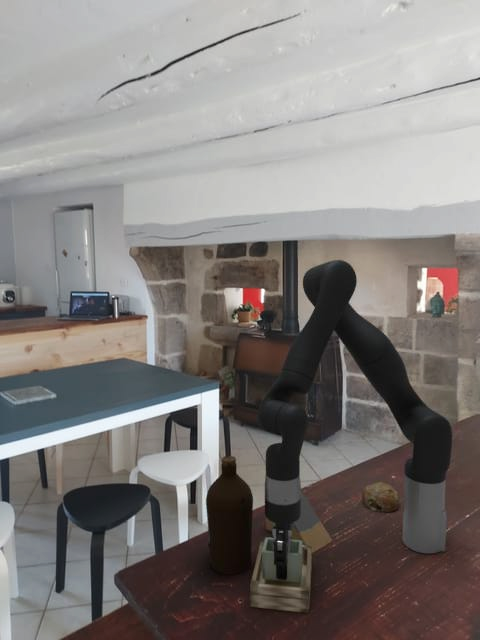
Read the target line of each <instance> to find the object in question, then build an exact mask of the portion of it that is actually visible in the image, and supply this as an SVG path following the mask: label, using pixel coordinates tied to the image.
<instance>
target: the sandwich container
mask: <svg viewBox="0 0 480 640" xmlns="http://www.w3.org/2000/svg"><path fill="white" fill-rule="evenodd" d="M265 477H266V474H265V476H264V478H265ZM273 526H274V522H272V521H270V520H268V519H267V517H266V516H265V529H266V530H268V531H270V532H271V533H273ZM291 539H292V540H302V545H307V546H312V554H313V553H315V552H317V551H318V550H319V549H322V548H323V547H324V546H326V545H327V544H329V543H330V542H331V541H332V540H333V539H332V537H331V536H330V534H329V532H328V531H327V530H326V528H325V526H324V525H323V523H322V521H321V520H320V518H319V516H318V515H317V513H316V512H315V510H314V508H313V507H312V505H311V504H310V501H309V500H308V498H307V497H306V495H305V493H304V492H303V490H302V489H301V516H300V518H299V519H298V520H297V521H295V522H293V529H292V538H291Z"/></svg>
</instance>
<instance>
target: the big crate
mask: <svg viewBox="0 0 480 640" xmlns="http://www.w3.org/2000/svg"><path fill="white" fill-rule="evenodd" d="M264 542H265V541H260V543H259V547H258V552H257V556H256V561H255V565H254V568H253V573H252V577H251V581H250V585H249V586H250V587H249V589H250V595H249V597H250V607H252V608H259V609H260V608H261V609H267V610H268V609H269V610H277V611H287V612H288V611H289V612H294V613H295V612H296V613H306V614H309V613H310V601H311V600H310V598H311V581H312V569H313V568H312V565H313V564H312V563H313V562H312V561H313V556H312V555H313V553H312V546H307V545H302V576H301V582H290V581H280V580H270V579H262V550H263V546H264Z"/></svg>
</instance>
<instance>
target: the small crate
mask: <svg viewBox="0 0 480 640" xmlns="http://www.w3.org/2000/svg"><path fill="white" fill-rule="evenodd" d="M273 541H274V537H267V536H266V537H265V538H264V541H263V542H264V546H263V550H262V579H270V580H279V579H277V578H276V565H274V549H273ZM287 545H288V542H287ZM286 547H287V546H286ZM301 576H302V540H292V539H290V551H289V552H288V562H287V579H286V580H280V581H290V582H301Z"/></svg>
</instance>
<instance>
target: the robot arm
mask: <svg viewBox="0 0 480 640" xmlns="http://www.w3.org/2000/svg"><path fill="white" fill-rule="evenodd" d="M357 280H358V279H357V273H356V271H355V269H354V267H353V266H352V265H351V263H349V262H347V261H345V260H341V259H336V260H331V261H330V260H329V261H327V262H324V263H321V264H318V265H315V266H313V267H311V268H309V269H308V270H307V271H305V273H304V276H303V278H302V289H303V291H304V294H305V296H306V297H307V300H308V301H309V302H310V303H311V304H312V306H313V307H314V308H313V311H312V313H311V314H310V316H309V318H308V320H307V322H306V323H305V325H304V326H303V328H302V329H301V331H300V332H299V334H298V335H297V336H296V337H295V339H294V341H293V342H292V345H291V346H290V348H289V349H288V352H287V353H286V357H285V360H284V363H283V365H282V368H281V371H280V374H279V376H278V377H277V379H276V380H275V382H274V383H273V385H271V387H270V389H269V391H268V392H267V393H266V395H265V396H264V398H263V399H262V401H261V402H260V404H259V407H258V410H257V423H258V425H259V427H260V428H261V430H263V431H265V432H267V433H269V434H274V435H276V436H280V437H281V442H275V443H272V444H270V445H269V446H268V447H267V448H266V450H265V475H266V477H265V476H264V516H265V518H266V517H267V519H268V520H270V521H272V522H274V526H273V532H272V536H273V538H274V541H273V549H274V565H276V578H277V579H279V580H286V579H287V562H288V552H289V551H290V539H291V538H292V529H293V522H295V521H297V520H298V519H299V518H300V516H301V490H302V484H301V477H300V475H301V474H300V471H301V470H300V467H301V466H300V457H301V456H300V455H301V451H302V448H303V444H304V441H305V438H306V433H307V430H308V426H309V418H308V413H307V412H306V409H305V408H304V407H303V406H302V405H300V404H298V403H294V402H291V399H293V398H294V396H301V395H307V394H308V393H309V392H310V391H311V390H312V387H313V384H314V381H315V379H316V375H317V372H318V369H319V367H320V363H321V361H322V358H323V356H324V353H325V350H326V348H327V345H328V344H329V341H330V339H331V337H332V336H333V334H334V332H335V334H336V335H337V337H338V338H339V340H340V341H341V343H342V344H343V345H344V347H345V349H346V350H347V351H348V353H349V354H350V355H351V357H352V358H353V360H354V362H355V364H356V365H357V366H358V368H359V370H360V371H361V372H362V374H363V375H364V376H365V378H366V379H367V381H368V382H369V383H370V385H371V386H372V387H373V388H374V390H375V391H376V393H378V395H379V396H380V397H381V398H382V399H383V401H384V402H385V404H386V405H387V407H388V409H389V410H390V412H391V414H392V415H393V417H394V420H395V421H396V423H397V424H398V427H399V429H400V430H401V433H402V435H404V437H405V438H406V440H408V441H409V442H410V443H411V444H412V445H413V450H412V457H411V458H409V459H407V460H406V461H405V462H404V473H403V475H404V476H403V477H404V478H403V479H404V480H403V481H404V482H403V507H402V508H403V509H402V510H403V511H402V514H403V515H402V542H403V544H404V545H405V546H406V547H407V548H409V549H411V550H412V551H414V552H417V553H420V554H426V555H427V554H428V555H429V554H436V553H439V552H440V553H441V552H446V540H447V511H446V509H445V508H446V507H445V506H446V505H445V503H446V498H445V497H446V478H447V473H448V471H449V468H450V465H451V456H452V448H453V447H452V445H453V429H452V425H451V423H450V422H449V419H447V418H446V417H445V416H443V415H441V414H440V413H438V412H436V410H433V409H431V408H430V407H428V405H426V403H425V402H424V401H423V399H422V398H421V397H420V396H419V395H418V393H417V392H416V391H415V389H414V388H413V387H412V385H411V384H412V383H410V380H409V377H408V372H407V369H406V365H405V362H404V360H403V359H402V356H401V355H400V354H399V352H398V350H397V349H396V348H395V346H394V345H393V343H392V341H391V340H390V339H389V337H388V336H387V335H386V334H385V332H383V331H382V330H380V329H379V328H378V327H377V326H375V325H374V324H373V323H372V322H370V321H369V320H368V319H366V318H364V317H363V316H362V315H360V314H359V313H358V312H357V310H355V309H354V308H353V306H352V305H351V303H350V300H351V299H352V297H353V295H354V293H355V290H356V288H357V282H358V281H357ZM287 542H288V545H287ZM286 546H287V547H286Z"/></svg>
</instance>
